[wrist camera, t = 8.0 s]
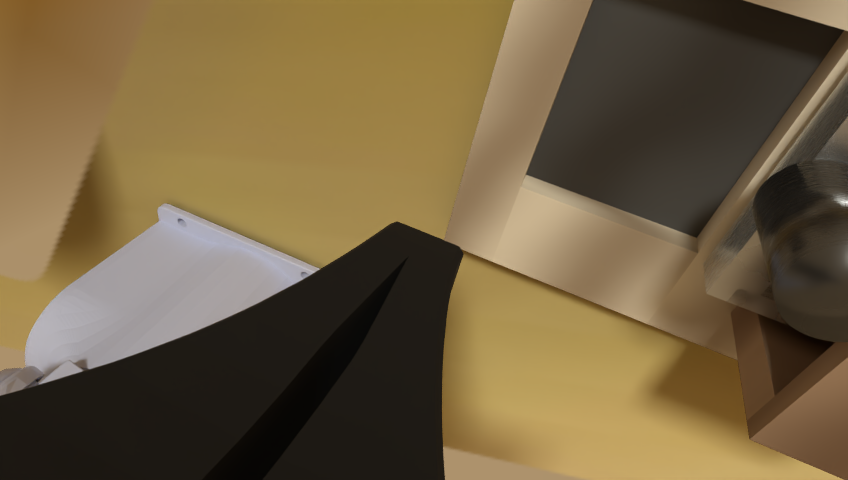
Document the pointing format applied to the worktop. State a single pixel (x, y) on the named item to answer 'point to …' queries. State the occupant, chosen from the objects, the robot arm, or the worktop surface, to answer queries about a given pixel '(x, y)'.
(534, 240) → the tunnel deck
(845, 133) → the slider frame
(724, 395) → the worktop surface
